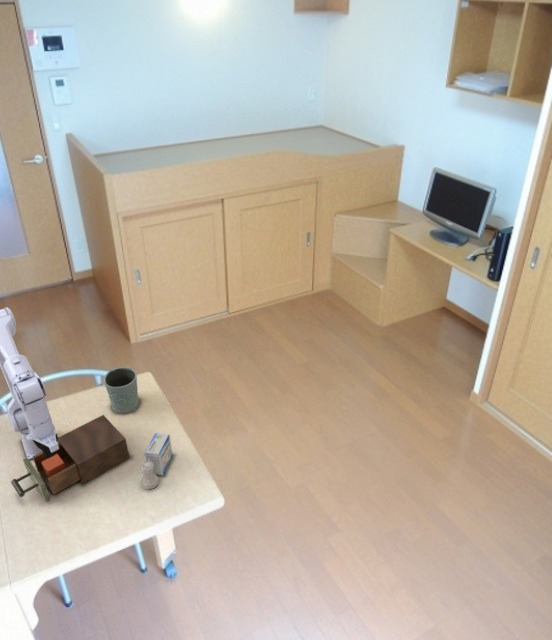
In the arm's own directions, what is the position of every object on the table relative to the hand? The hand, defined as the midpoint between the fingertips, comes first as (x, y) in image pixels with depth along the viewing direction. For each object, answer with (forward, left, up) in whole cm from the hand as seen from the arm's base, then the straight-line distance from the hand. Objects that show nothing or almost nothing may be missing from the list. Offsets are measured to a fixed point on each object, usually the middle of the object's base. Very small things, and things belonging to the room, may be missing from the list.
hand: (50, 455), depth 143 cm
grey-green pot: (-20, +26, -10) cm, 34 cm away
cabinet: (-2, +11, -9) cm, 15 cm away
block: (0, 0, -8) cm, 8 cm away
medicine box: (+10, +26, -10) cm, 30 cm away
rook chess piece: (+16, +21, -10) cm, 28 cm away
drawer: (0, -1, -9) cm, 9 cm away
